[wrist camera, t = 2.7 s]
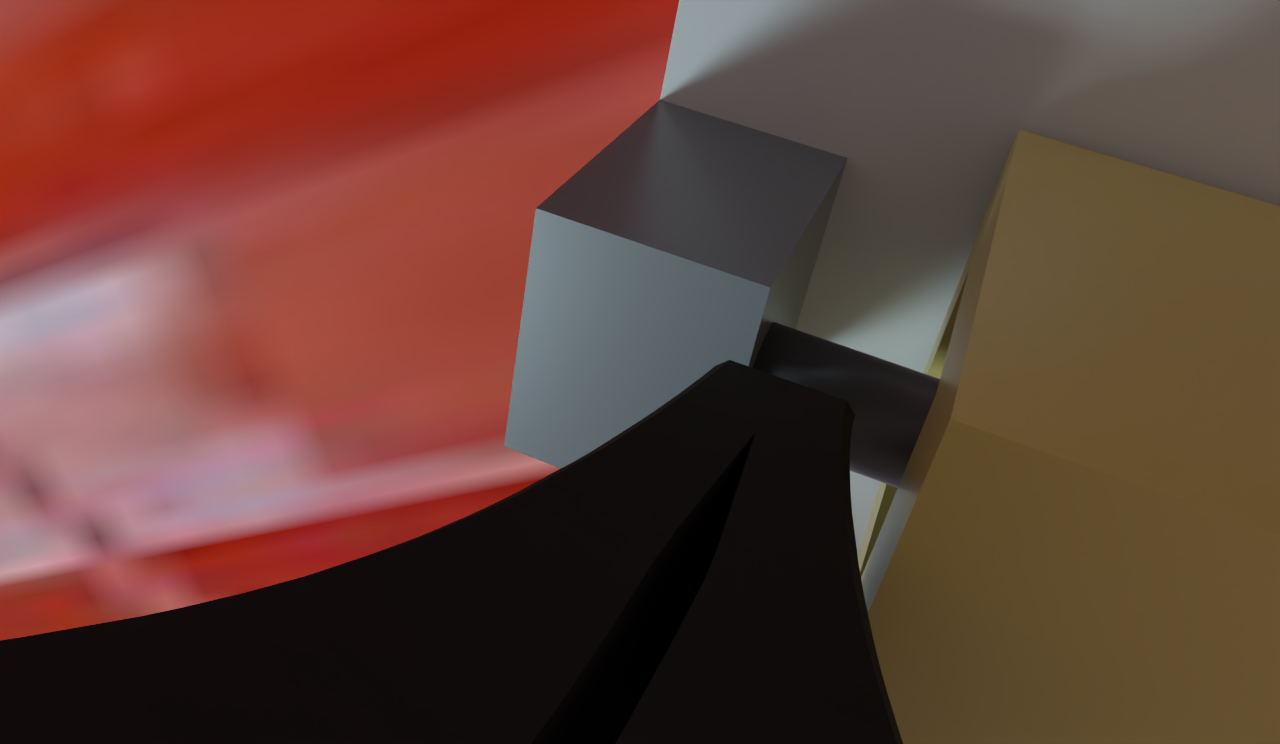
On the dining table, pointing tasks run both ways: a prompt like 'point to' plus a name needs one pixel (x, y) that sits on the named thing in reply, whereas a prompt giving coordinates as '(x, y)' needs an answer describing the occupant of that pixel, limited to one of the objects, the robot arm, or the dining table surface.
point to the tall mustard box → (1092, 472)
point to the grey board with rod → (852, 194)
